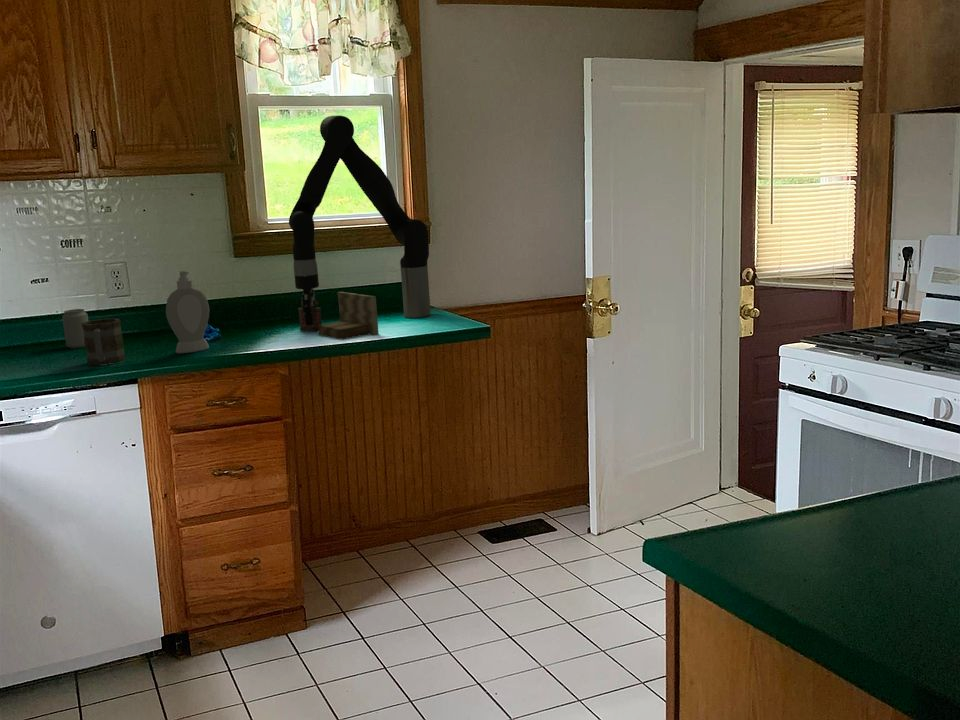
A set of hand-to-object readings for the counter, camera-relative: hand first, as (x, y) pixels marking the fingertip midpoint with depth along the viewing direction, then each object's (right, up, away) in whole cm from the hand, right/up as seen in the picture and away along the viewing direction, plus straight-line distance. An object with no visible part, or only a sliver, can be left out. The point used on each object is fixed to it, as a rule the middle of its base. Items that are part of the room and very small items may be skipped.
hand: (310, 322), depth 305 cm
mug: (-53, -13, -35) cm, 65 cm away
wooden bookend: (+13, -4, -9) cm, 16 cm away
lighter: (0, -3, +1) cm, 3 cm away
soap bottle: (-31, -10, -24) cm, 40 cm away
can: (-73, -8, -5) cm, 74 cm away
